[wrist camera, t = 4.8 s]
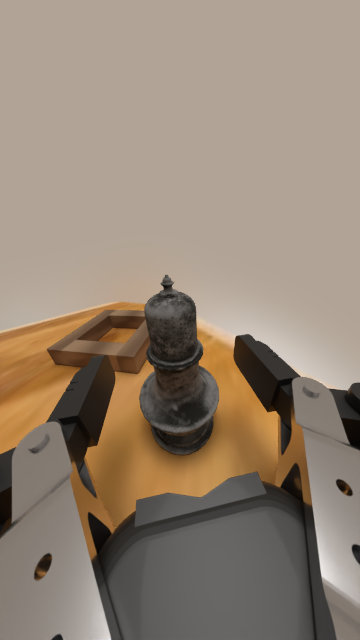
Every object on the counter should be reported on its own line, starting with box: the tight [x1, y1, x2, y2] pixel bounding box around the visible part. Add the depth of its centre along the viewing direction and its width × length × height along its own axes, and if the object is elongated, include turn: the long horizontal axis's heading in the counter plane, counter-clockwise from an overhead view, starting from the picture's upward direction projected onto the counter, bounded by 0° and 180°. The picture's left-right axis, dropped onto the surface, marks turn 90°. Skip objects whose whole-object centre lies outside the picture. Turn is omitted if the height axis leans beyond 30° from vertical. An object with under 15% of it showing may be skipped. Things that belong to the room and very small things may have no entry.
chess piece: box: [139, 275, 219, 455], centre depth 10 cm, size 6×6×12 cm
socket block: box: [47, 310, 150, 373], centre depth 24 cm, size 12×12×2 cm
